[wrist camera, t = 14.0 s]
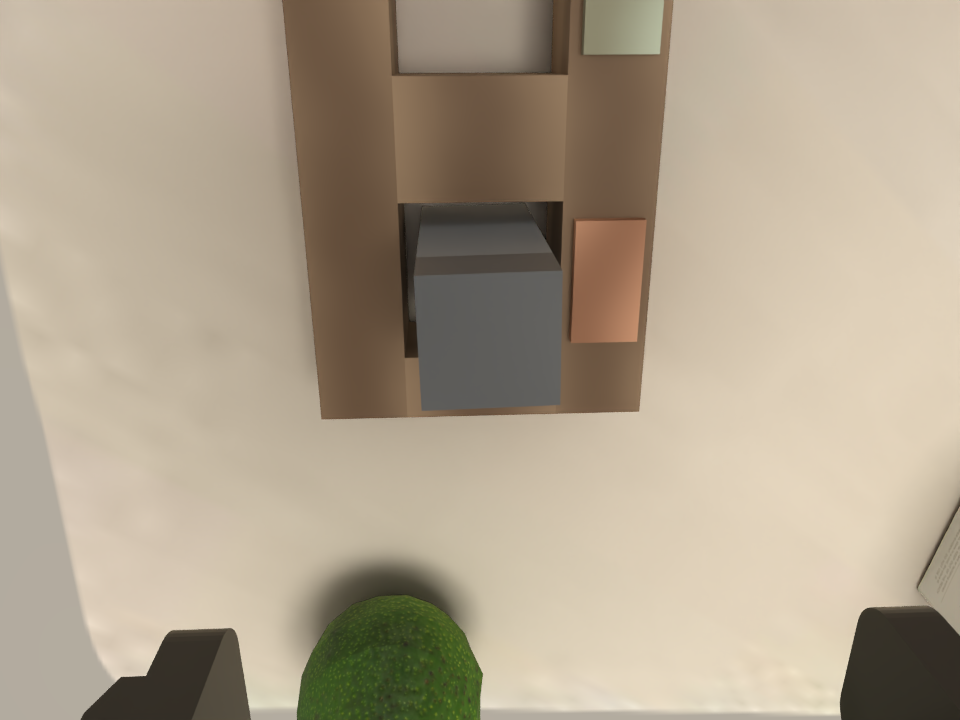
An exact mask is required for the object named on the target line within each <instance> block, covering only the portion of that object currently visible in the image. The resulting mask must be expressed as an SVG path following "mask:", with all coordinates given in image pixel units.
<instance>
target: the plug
mask: <svg viewBox="0 0 960 720" xmlns="http://www.w3.org/2000/svg"><path fill="white" fill-rule="evenodd" d="M562 280H563V270H562V268H561V267H560V265H559V263H558V261H557V260H556V258H555V256H554V254H553V253H552V251H551V249H550V247H549V245H548V244H547V242H546V240H545V238H544V237H543V235H542V233H541V231H540V230H539V228H538V226H537V224H536V222H535V221H534V219H533V217H532V215H531V214H530V212H529V210H528V208H527V207H526V205H525V203H510V204H480V205H450V206H422V214H421V221H420V229H419V237H418V245H417V253H416V261H415V269H414V292H415V308H416V325H417V342H418V359H419V375H420V392H421V409H422V411H432V410H456V409H479V408H502V407H526V406H549V405H560V394H561V337H562Z"/></svg>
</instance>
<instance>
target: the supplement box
mask: <svg viewBox="0 0 960 720" xmlns="http://www.w3.org/2000/svg"><path fill="white" fill-rule="evenodd" d="M918 591H919V592H920V593H921V595H922V596H923V597H924V598H925V599H926V600H927V601H928V602H929V604H930V605H931V606H932V607H933V608H934V609H935V610H936V611H938V612H939V613H940V614H941V615H942V616H943V617H944V618H945V620H946V621H947V622H948V623H949V624H950V625H951V626H952V627H953V628H954V630H955V631H956V632H957V633H958V634H959V635H960V507H959V509H958V510H957V512H956V514H955V516H954V518H953V520H952V522H951V524H950V526H949V528H948V530H947V532H946V534H945V536H944V538H943V540H942V542H941V544H940V546H939V548H938V550H937V552H936V554H935V556H934V558H933V560H932V562H931V564H930V565H929V567H928V569H927V571H926V573H925V575H924V577H923V579H922V581H921V583H920V584H919V586H918Z"/></svg>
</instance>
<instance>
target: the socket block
mask: <svg viewBox="0 0 960 720" xmlns="http://www.w3.org/2000/svg"><path fill="white" fill-rule="evenodd" d="M282 2H283V12H284V23H285V34H286V44H287V55H288V66H289V76H290V87H291V98H292V108H293V119H294V130H295V140H296V151H297V162H298V172H299V183H300V194H301V204H302V215H303V226H304V236H305V247H306V258H307V268H308V279H309V290H310V300H311V311H312V322H313V332H314V343H315V354H316V364H317V375H318V385H319V396H320V407H321V417H322V419H356V418H397V417H437V416H477V415H517V414H558V413H598V412H638V411H639V406H640V394H641V382H642V370H643V358H644V346H645V334H646V322H647V310H648V299H649V287H650V275H651V263H652V251H653V239H654V227H655V215H656V203H657V191H658V179H659V167H660V155H661V143H662V131H663V119H664V107H665V95H666V83H667V71H668V59H669V47H670V35H671V23H672V11H673V0H553V26H552V61H551V73H399V70H398V46H397V23H396V0H282ZM543 201H547V233H546V242H547V244H548V245H549V247H550V249H551V251H552V253H553V254H554V256H555V258H556V260H557V261H558V263H559V265H560V267H561V268H562V270H563V280H562V337H561V394H560V405H549V406H526V407H502V408H479V409H456V410H432V411H422V409H421V392H420V375H419V359H418V342H417V325H416V322H409V305H408V282H407V258H406V235H405V211H404V203H466V202H543Z"/></svg>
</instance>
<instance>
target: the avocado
mask: <svg viewBox="0 0 960 720" xmlns="http://www.w3.org/2000/svg"><path fill="white" fill-rule="evenodd" d="M482 677H483V673H482V671H481V669H480V667H479V665H478V663H477V661H476V659H475V657H474V654H473V652H472V650H471V648H470V646H469V643H468V641H467V638H466V636H465V633H464V632H463V631H462V630H461V629H460V628H459V627H458V625H457V624H456V623H455V622H454V621H453V620H452V619H451V618H450V617H449V616H448V615H447V614H446V613H444V612H443V611H442V610H440V609H439V608H438V607H436V606H435V605H434V604H432V603H429V602H426V601H423V600H420V599H417V598H415V597H412V596H409V595H392V596H377V597H374V598H371V599H368V600H365V601H361V602H358V603H355V604H353V605H351V606H350V607H349V608H348V609H347V610H345V611H344V612H343V613H342V614H341V615H339V616H338V617H337V618H336V619H335V620H333V621H332V622H331V623H330V624H329V625H328V626H327V628H326V630H325V632H324V633H323V635H322V637H321V638H320V640H319V642H318V643H317V645H316V647H315V648H314V650H313V652H312V653H311V656H310V658H309V660H308V663H307V665H306V667H305V670H304V672H303V674H302V679H301V686H300V693H299V701H298V708H297V720H480V694H481V685H482Z"/></svg>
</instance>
